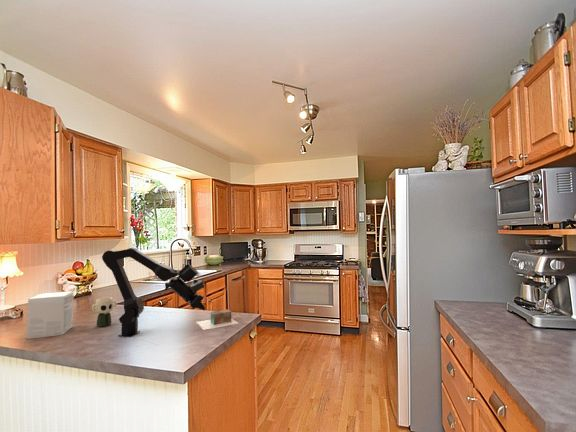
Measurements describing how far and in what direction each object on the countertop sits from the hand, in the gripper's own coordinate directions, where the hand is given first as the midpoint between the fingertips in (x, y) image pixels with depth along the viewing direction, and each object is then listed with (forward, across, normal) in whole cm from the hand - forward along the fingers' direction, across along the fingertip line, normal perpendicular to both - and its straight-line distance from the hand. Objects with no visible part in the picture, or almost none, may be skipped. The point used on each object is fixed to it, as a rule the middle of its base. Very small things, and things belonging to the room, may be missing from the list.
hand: (204, 309), depth 137 cm
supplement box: (-37, +32, +51) cm, 71 cm away
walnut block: (+6, 0, +1) cm, 6 cm away
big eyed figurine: (-23, +30, +36) cm, 52 cm away
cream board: (+10, 0, +1) cm, 10 cm away
